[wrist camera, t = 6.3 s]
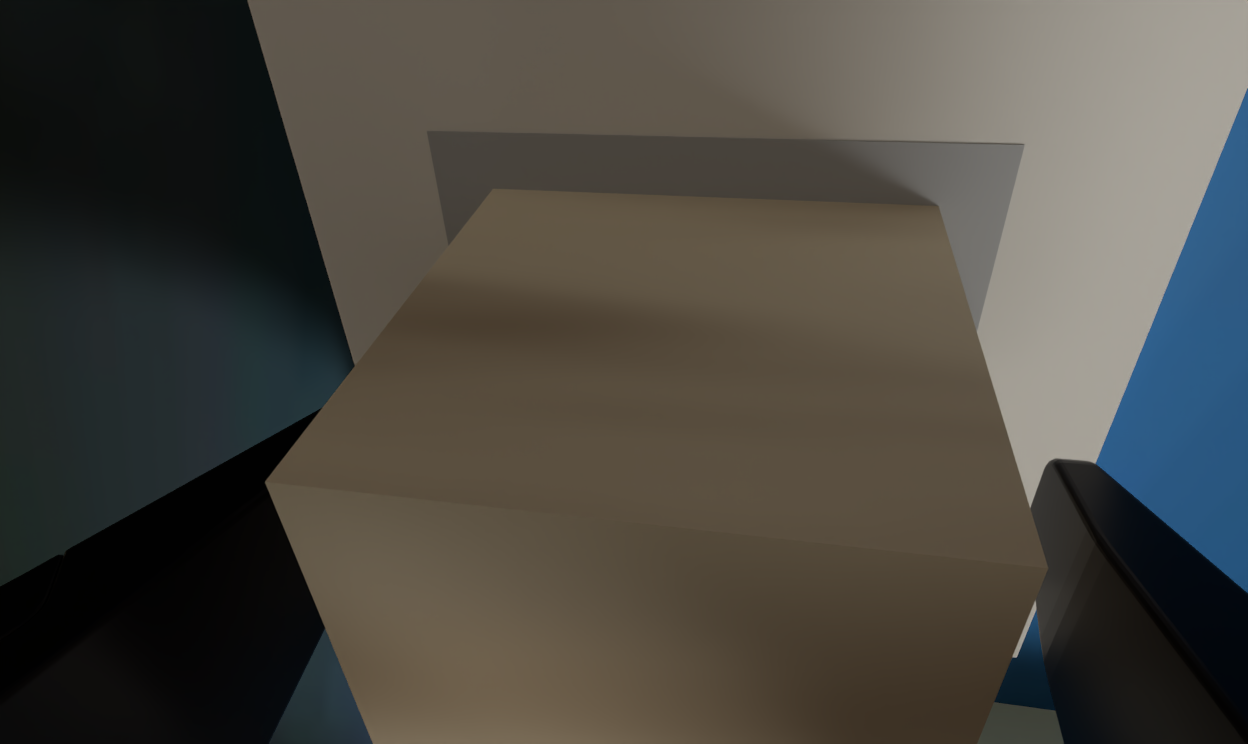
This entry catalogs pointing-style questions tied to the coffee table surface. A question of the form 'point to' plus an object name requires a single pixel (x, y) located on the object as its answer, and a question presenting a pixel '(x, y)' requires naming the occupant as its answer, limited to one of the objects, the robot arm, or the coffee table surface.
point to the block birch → (670, 484)
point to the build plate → (791, 146)
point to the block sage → (1020, 726)
